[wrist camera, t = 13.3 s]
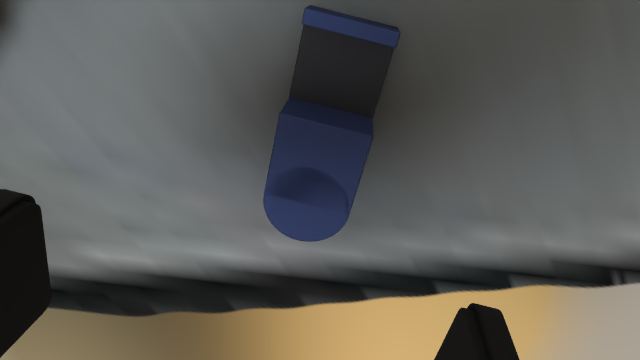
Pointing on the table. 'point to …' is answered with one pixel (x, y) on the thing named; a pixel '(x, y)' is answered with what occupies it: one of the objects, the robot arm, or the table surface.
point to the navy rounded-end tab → (326, 123)
